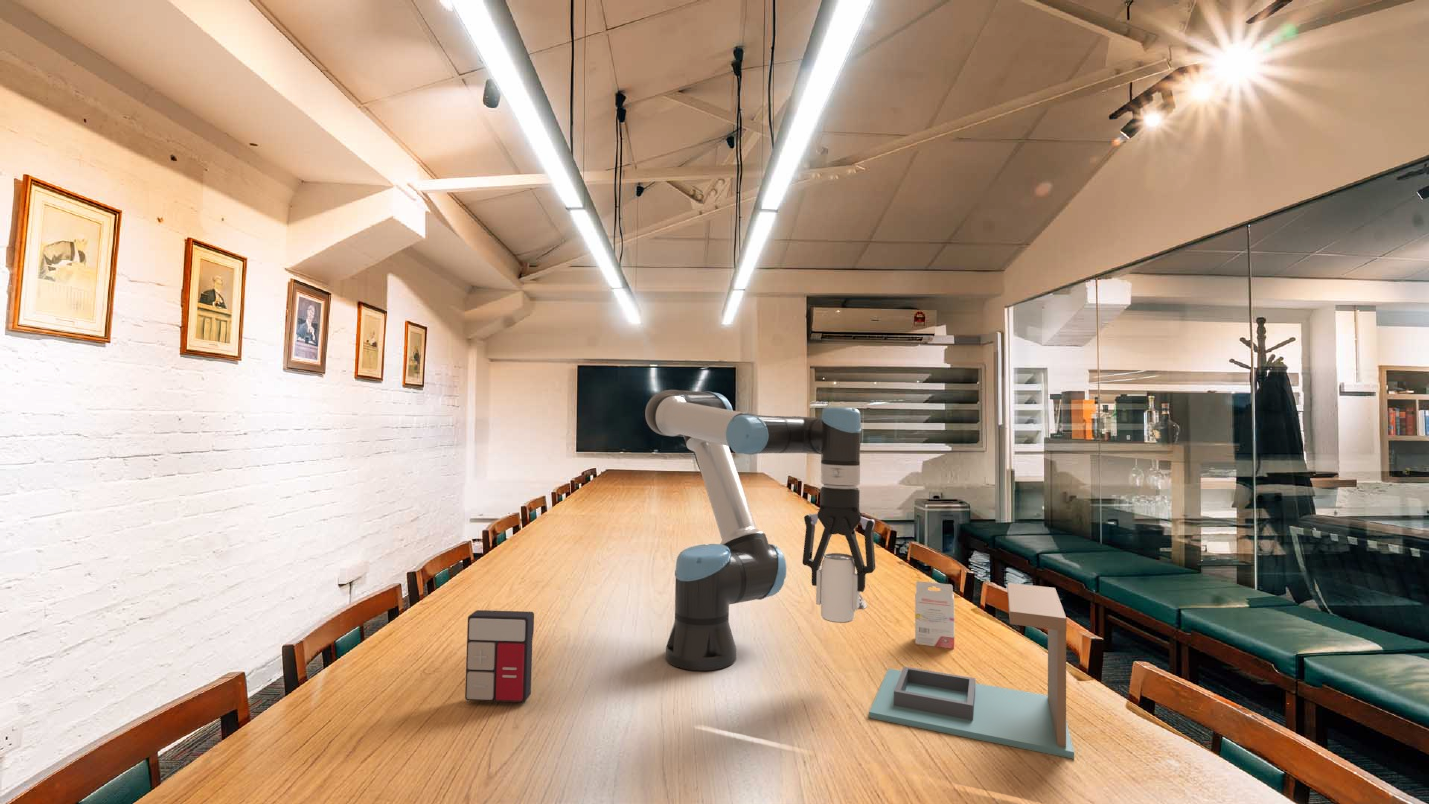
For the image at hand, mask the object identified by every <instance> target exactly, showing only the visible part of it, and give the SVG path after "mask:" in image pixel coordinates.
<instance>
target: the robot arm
mask: <svg viewBox="0 0 1429 804" xmlns="http://www.w3.org/2000/svg"><path fill="white" fill-rule="evenodd" d="M644 412H645V416H644V417H645V421H646V423H647V425H648V427H649V428H650V429H651V430H652V431H653V432H655V433H656V434H659V435H661V436H666V437H667V436H668V437H683V439H684V441H685V445H686V448H687V449H688V450H689V451H691V452H694V453H695V456H696V461H697V463H698V466H699V470H700V474H701V476H702V477H701V478H702V480H703V482H704V487H705V489H706V492H707V497H708V499H709V502H710V505H711V509H712V512H713V515H714V518H715V522H716V525H717V528H718V531H719V535H720V537H721V542H720V543H708V544H703V543H702V544H699V545H698V544H697V545H694V546H690V547H687V548H684V549H683V550H681V552H680V553H679V554H678V555H677V557H676V564H675V571H674V576H675V577H674V578H675V587H674V588H675V590H674V591H675V593H674V600H675V601H674V620H673V621H674V622H673V625H672V628H671V631H670V634H669V636H668V640H667V643H666V647H665V660H666V662H667V663H669V664H670V665H672V666H674V667H677V668H679V667H680V669H684V670H690V671H715V670H720V669H724V668H727V667H729V666H731V665H733V664H734V663H735V662H736V660H737V646H736V641H735V639H734V635H733V632H732V629H731V626H730V622H729V621H730V620H729V615H730V612H729V611H730V605H734V604H740V603H745V602H750V601H757V600H759V601H761V600H764V599H766V598H769V597H772V596H776V594H778V593H779V592H780V591H781V590H782V588H783V587H784V584H785V579H786V578H787V562H786V558H785V555H784V553H783V551H782V550H781V548H779V547H778V546H777V545H775V544H771V543H769V541H768V538H767V534H766V533H765V532H764V531H761V529H758V528H757V526H756V523H755V520H754V517H753V514H752V511H751V508H750V505H749V502H748V499H747V497H746V494H745V491H744V488H743V484H742V482H741V477H740V476H739V473H738V468H737V467H736V463H735V462H734V461H735V460H734V457H733V454H732V452H734V453H736V454H743V455H756V454H758V455H759V454H810V455H811V454H812V455H813V454H814V455H815V454H817V455H820V483H821V484H822V485H823V486H821V487H820V489H819V490H820V492H819V493H820V498H819V501H820V502H819V510H818V512H817V513H808V514H806V515H804V517H803V519H804V524H805V532H804V533H805V535H804V536H805V537H804V543H803V552H802V553H803V554H802V565H804V566H806V567H809V568H810V570H811V585H812V586H814V587H816V588H815V589H816V593H815V595H816V596H815V597H816V598H815V604H816V605H818V606H819V605H820V606H821V572H822V561H823V559H824V555H825V554H826V551H827V548H828V545H829V542H830V540H831V537H832V536H833V535H841V536H844V537H845V539H846V541H847V543H848V546H849V547H848V548H849V549H850V553H851V554H850V555H851V556H852V557H853V561H854V563H855V574H854V575H853V610H855V611H857V610H858V609H860V608H859V602H860V594H861V593H863V592H864V591H865V589H866V575H868V574H872V573H874V571H875V570H876V556H875V542H874V528H875V525H876V520H875V519H874V518H871V519H869V518H867V517H865V516H864V517H863V516H862V513H861V510H860V493H861V492H860V489H859V488H858V486H859V485H860V484H861V465H860V464H861V440H862V424H861V423H862V422H861V421H862V419H861V412H860V410H859V409H857V408H856V407H840V406H839V407H838V406H837V407H835V406H834V407H833V406H832V407H831V406H828V407H824V408H822V411H821V412H822V413H821V417H816V416H812V417H811V416H796V415H795V416H794V415H793V416H783V415H782V416H781V415H780V416H779V415H761V414H760V415H759V414H755V413H747V412H741V411H737V410H733V407H732V404H731V403H730V401H729V400H728V398H727V397H726V396H724V395H723V394H721V393H718V392H712V391H709V390H703V391H694V390H682V389H681V390H677V389H668V390H667V389H666V390H662V391H659V392H658V393H656V394H654V395H653V396H652V397H651V398H650V399H649V401H648V402H647V404H646V406H645V411H644ZM730 448H731V449H730ZM731 450H732V452H731ZM818 520H819V521H820V523H821V524H822V526H823V531H822V535H821V539H820V541H819V544H818V545H817V549H816V552H815V555H814V556H813V551H814V542H815V533H816V532H815V531H816V525H817V523H818ZM859 524H861V527H862V530H864V546H865V547H864V548H865V562H864V560H863V555H862V552H861V549H860V545H859V543H858V540H857V534H856V531H855V529H856V528H857V527H858V525H859ZM813 557H814V558H813ZM860 603H861V602H860Z"/></svg>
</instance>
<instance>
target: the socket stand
mask: <svg viewBox="0 0 1429 804" xmlns="http://www.w3.org/2000/svg"><path fill="white" fill-rule="evenodd" d="M1007 599H1008V600H1007V603H1008V605H1007V606H1008V614H1009V617H1008V618H1009V624H1010V625H1014V626H1015V625H1016V626H1024V627H1031V628H1039V629H1047V694H1042V693H1036V692H1031V691H1024V690H1021V689H1020V690H1019V689H1013V688H1007V687H1002V686H1001V687H1000V686H997V685H989V684H988V685H987V684H984V683H977V682H976V678H975V677H969V676H963V675H957V674H952V673H951V674H950V673H944V672H939V671H934V670H933V671H932V670H929V669H928V670H927V669H922V668H914V667H909V666H903V667H902V670H901V669H894V668H888V669H887V671H886V674H885V675H884V678H883V680H882V682H881V683H880V687H879V689H878V690H877V691H878V692H877V693H876V696H875V698H874V700H873V702H872V705H871V706H870V710H869V711H868V718H869V719H872V720H873V719H874V720H879V721H883V722H889V723H893V724H899V725H903V726H907V727H913V728H919V729H923V730H929V731H932V732H938V733H943V734H949V735H951V736H952V735H953V736H958V737H964V738H968V739H973V740H978V741H983V742H989V743H994V744H998V745H1002V746H1003V745H1004V746H1009V747H1013V748H1018V749H1022V750H1029V751H1034V752H1038V753H1042V754H1048V755H1051V756H1052V755H1054V756H1058V757H1064V758H1068V759H1073V760H1075V750H1074V745H1073V743H1072V737H1071V735H1070V730H1069V726H1068V721H1067V630H1068V629H1067V627H1068V624H1067V621H1068V620H1067V617H1066V613H1065V611H1064V607H1063V605H1062V603H1061V599H1060V597H1059V594H1058V592H1057V590H1056V587H1049V586H1041V585H1032V584H1022V583H1014V582H1007Z"/></svg>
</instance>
